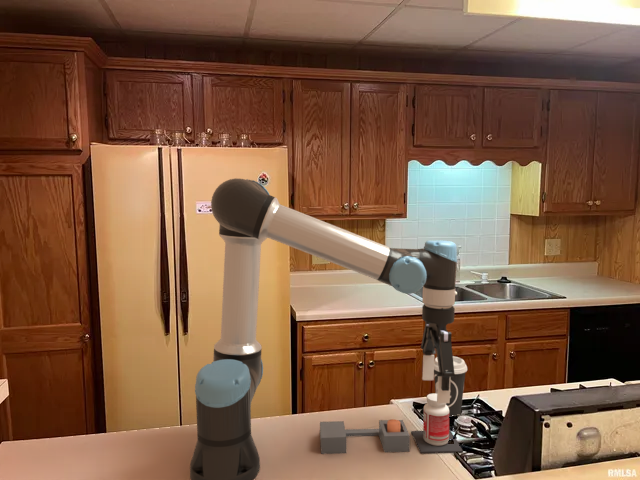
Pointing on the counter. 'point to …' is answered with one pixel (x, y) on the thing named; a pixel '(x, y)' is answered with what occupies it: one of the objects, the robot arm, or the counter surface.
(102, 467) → the counter surface
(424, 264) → the robot arm
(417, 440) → the mat
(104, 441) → the counter surface
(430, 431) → the pill bottle
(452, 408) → the coffee cup
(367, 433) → the housing
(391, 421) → the plunger
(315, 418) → the counter surface
